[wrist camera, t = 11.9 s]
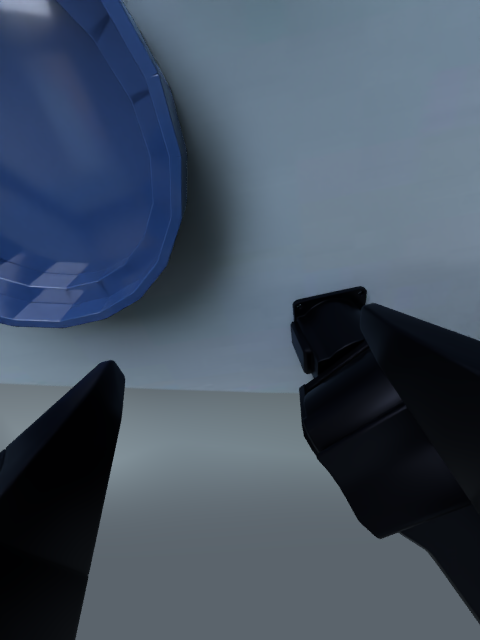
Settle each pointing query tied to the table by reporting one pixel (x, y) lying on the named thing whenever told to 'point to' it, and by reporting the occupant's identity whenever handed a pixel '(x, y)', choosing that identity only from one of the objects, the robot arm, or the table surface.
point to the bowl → (83, 163)
